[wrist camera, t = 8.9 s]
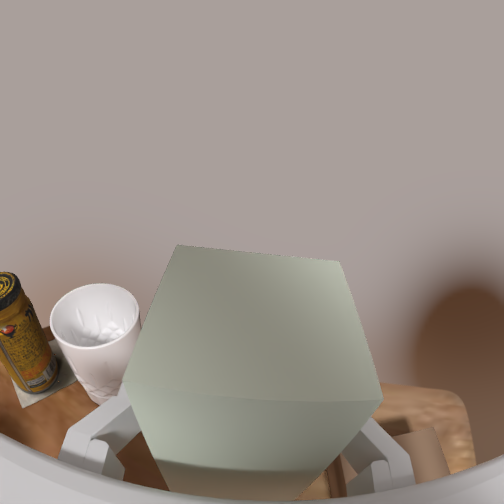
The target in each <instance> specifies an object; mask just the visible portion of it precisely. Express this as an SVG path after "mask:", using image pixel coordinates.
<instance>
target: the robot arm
mask: <svg viewBox="0 0 504 504" xmlns="http://www.w3.org/2000/svg"><path fill="white" fill-rule="evenodd" d="M140 431H141V428H140V426H139V424H138V421H137V419H136V416H135V414H134V411H133V409H132V406H131V403H130V401H129V398H128V395H127V393H126V390H125V387H124V384H123V381H122V384H121V387H120V389H119V392H118V395H117V396H112V397H111V398H110V399H108V400H107V401H106V402H104V403H103V404H102V405H100V406H99V407H98V408H96V409H95V410H94V411H92V412H91V413H90V414H88V415H87V416H85V417H84V418H83V419H81V420H80V421H79V422H77V423H76V424H75V425H73V426H72V427H70V428H69V429H68V432H67V434H66V437H65V440H64V442H63V445H62V448H61V451H60V453H59V456H58V459H55V458H53V457H50V456H48V455H46V454H43V453H41V452H39V451H37V450H34V449H32V448H30V447H28V446H26V445H24V444H22V443H20V442H18V441H16V440H14V439H12V438H10V437H8V436H6V435H4V434H2V433H0V504H504V455H502V456H499V457H497V458H494V459H492V460H490V461H487V462H485V463H482V464H479V465H477V466H474V467H471V468H469V469H466V470H463V471H460V472H457V473H454V474H451V475H448V476H444V477H441V478H438V479H434V480H431V481H427V482H423V483H419V484H416V483H415V478H414V473H413V469H412V465H411V460H410V456H409V454H408V453H407V452H406V451H405V450H404V449H403V448H402V447H401V446H400V445H399V444H398V443H397V442H396V441H395V440H394V439H393V438H392V437H391V436H390V435H389V434H388V433H387V432H386V431H385V430H384V429H383V428H382V427H381V426H380V425H379V424H378V423H377V422H376V421H375V420H374V419H373V418H372V417H370V418H369V419H368V421H367V422H366V423H365V424H364V426H363V427H362V428H361V429H360V431H359V432H358V433H357V434H356V435H355V437H354V438H353V439H352V440H351V441H350V443H349V444H348V445H347V446H346V447H345V448H344V449H343V451H342V452H341V453H342V455H343V456H344V457H345V459H346V460H347V461H348V463H349V464H350V465H351V467H352V468H353V469H354V470H355V472H356V473H357V474H358V475H357V476H356V477H354V478H353V479H352V480H351V481H349V482H348V483H347V484H346V489H347V497H341V498H331V499H319V500H300V501H253V500H235V499H222V498H212V497H203V496H196V495H189V494H182V493H176V492H170V491H165V490H160V489H155V488H150V487H145V486H141V485H137V484H133V483H129V482H125V481H123V477H124V472H125V468H124V466H123V465H122V464H121V462H120V461H119V460H118V458H117V457H116V454H117V453H119V452H120V451H121V450H122V449H123V448H124V447H125V446H126V445H127V444H128V443H129V442H130V441H131V440H132V439H133V438H134V437H135V436H136V435H137V434H138V433H139V432H140Z"/></svg>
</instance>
